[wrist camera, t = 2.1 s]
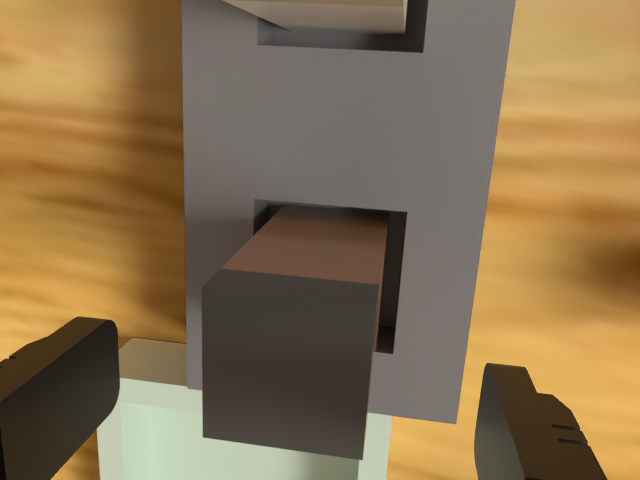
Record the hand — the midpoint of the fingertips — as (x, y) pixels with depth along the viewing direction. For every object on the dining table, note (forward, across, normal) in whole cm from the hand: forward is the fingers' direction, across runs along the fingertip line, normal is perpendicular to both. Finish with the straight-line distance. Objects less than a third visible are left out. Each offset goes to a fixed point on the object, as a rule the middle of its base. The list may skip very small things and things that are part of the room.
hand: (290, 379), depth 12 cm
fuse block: (+10, 0, -5) cm, 11 cm away
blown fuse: (+8, 0, 0) cm, 8 cm away
